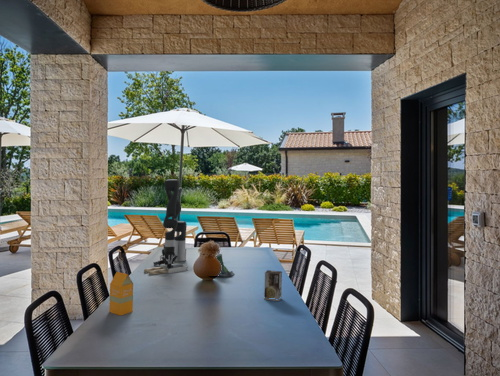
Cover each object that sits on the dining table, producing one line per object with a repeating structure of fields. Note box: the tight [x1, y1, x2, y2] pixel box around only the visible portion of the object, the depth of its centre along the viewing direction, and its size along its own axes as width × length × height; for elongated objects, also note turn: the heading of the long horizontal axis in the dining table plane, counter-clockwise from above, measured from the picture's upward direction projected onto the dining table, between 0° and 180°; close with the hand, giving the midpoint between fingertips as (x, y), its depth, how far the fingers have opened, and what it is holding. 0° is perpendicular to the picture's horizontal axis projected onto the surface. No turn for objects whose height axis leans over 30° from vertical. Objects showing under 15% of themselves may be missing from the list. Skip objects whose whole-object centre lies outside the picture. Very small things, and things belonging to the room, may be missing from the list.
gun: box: [153, 243, 175, 267], centre depth 297 cm, size 3×17×15 cm
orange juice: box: [108, 271, 134, 316], centre depth 192 cm, size 8×9×20 cm
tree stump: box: [216, 253, 235, 278], centre depth 273 cm, size 18×20×18 cm
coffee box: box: [263, 269, 283, 302], centre depth 221 cm, size 9×6×16 cm
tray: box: [160, 262, 188, 274], centre depth 284 cm, size 16×13×3 cm
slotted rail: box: [143, 266, 169, 276], centre depth 274 cm, size 14×9×2 cm, turn 130°
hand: (169, 268), depth 281 cm, fingers closed
